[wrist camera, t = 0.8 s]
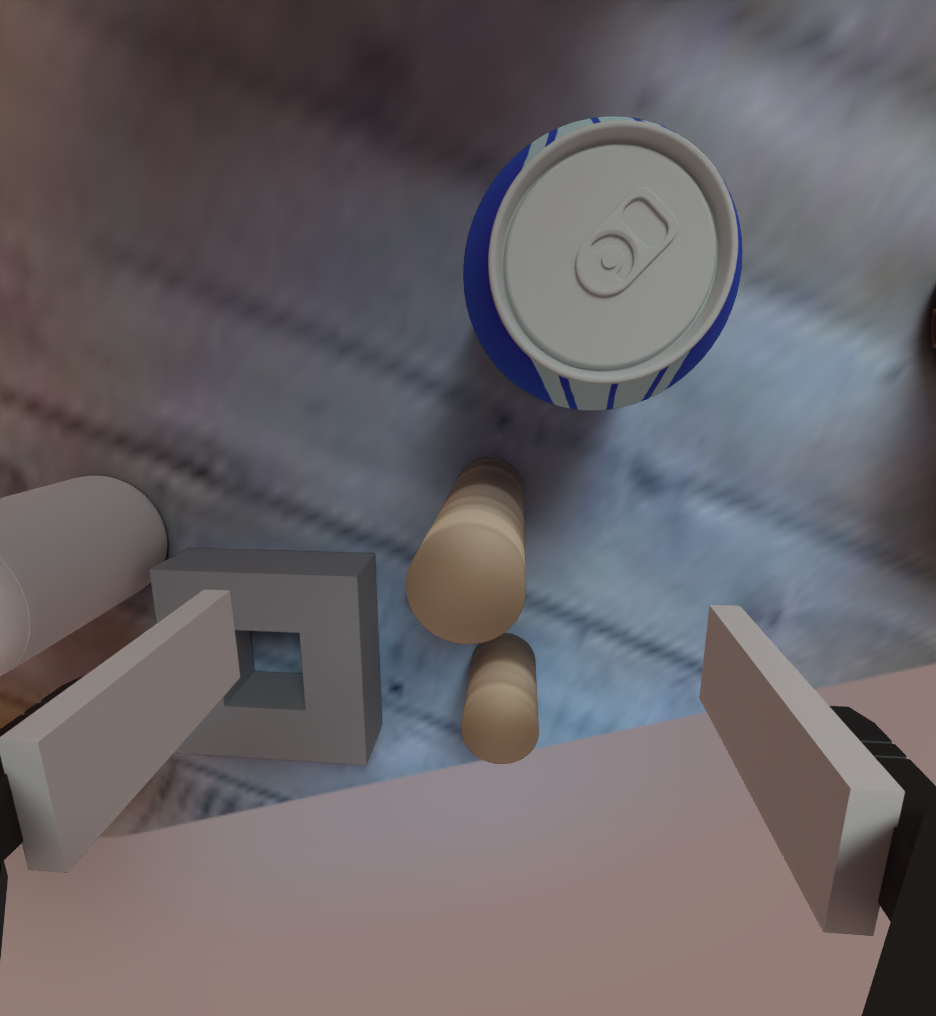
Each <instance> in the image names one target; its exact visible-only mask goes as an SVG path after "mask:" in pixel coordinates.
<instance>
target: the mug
mask: <svg viewBox="0 0 936 1016" xmlns="http://www.w3.org/2000/svg"><path fill="white" fill-rule="evenodd" d="M931 333H932V344H933V348H934V349H935V350H936V306H935V307H934V309H933V315H932V325H931Z"/></svg>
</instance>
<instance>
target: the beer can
mask: <svg viewBox="0 0 936 1016" xmlns="http://www.w3.org/2000/svg"><path fill="white" fill-rule="evenodd" d="M741 268H742V237H741V230H740V224H739V219H738V215H737V211H736V208H735V205H734V202H733V200H732V197H731V194H730V192H729V190H728V188H727V186H726V184H725V182H724V180H723V179H722V177H721V176H720V174H719V173H718V171H717V169H716V168H715V167H714V166H713V164H712V163H711V162H710V161H709V159H708V158H707V157H706V156H705V155H704V154H703V153H702V152H701V151H700V150H699V149H698V148H697V147H696V146H694V145H693V144H692V143H691V142H689V141H688V140H687V139H685V138H683V137H682V136H680V135H679V134H677V133H675V132H674V131H672V130H669V129H667V128H665V127H663V126H661V125H658V124H655V123H652V122H649V121H645V120H641V119H636V118H629V117H597V118H589V119H585V120H581V121H576V122H573V123H570V124H567V125H564V126H561V127H559V128H557V129H555V130H553V131H551V132H548V133H547V134H545V135H543V136H542V137H540V138H538V139H536V140H535V141H533V142H532V143H531V144H529V145H528V146H527V147H525V148H524V149H523V150H522V151H520V152H519V153H518V154H517V155H516V156H515V157H514V158H512V159H511V161H510V162H509V163H508V164H507V165H506V166H505V167H504V168H503V169H502V170H501V172H500V173H499V174H498V175H497V177H496V178H495V179H494V181H493V182H492V184H491V185H490V187H489V188H488V190H487V191H486V193H485V195H484V197H483V199H482V201H481V203H480V204H479V206H478V209H477V211H476V214H475V216H474V219H473V221H472V224H471V228H470V231H469V234H468V239H467V244H466V249H465V257H464V274H463V279H464V293H465V299H466V305H467V309H468V313H469V317H470V320H471V323H472V326H473V328H474V331H475V333H476V335H477V337H478V339H479V342H480V343H481V345H482V347H483V349H484V350H485V352H486V354H487V355H488V356H489V358H490V359H491V360H492V362H493V363H494V364H495V365H496V367H497V368H498V369H499V370H500V371H501V372H502V373H503V374H504V375H505V376H506V377H507V378H508V379H509V380H510V381H512V382H513V383H514V384H515V385H517V386H518V387H520V388H521V389H522V390H524V391H526V392H527V393H529V394H531V395H532V396H534V397H536V398H538V399H541V400H543V401H545V402H548V403H551V404H554V405H557V406H561V407H565V408H570V409H577V410H593V411H595V410H608V409H615V408H620V407H624V406H628V405H632V404H635V403H638V402H641V401H643V400H646V399H648V398H650V397H653V396H655V395H657V394H659V393H660V392H662V391H664V390H666V389H667V388H669V387H671V386H672V385H673V384H675V383H676V382H677V381H679V380H680V379H682V378H683V377H684V376H685V375H686V374H687V373H689V372H690V371H691V370H692V369H693V368H694V367H695V366H696V365H697V364H698V363H699V362H700V361H701V360H702V358H703V357H704V356H705V355H706V353H707V352H708V351H709V350H710V349H711V347H712V346H713V344H714V343H715V341H716V340H717V338H718V337H719V335H720V333H721V331H722V329H723V328H724V326H725V324H726V322H727V319H728V317H729V315H730V313H731V310H732V307H733V304H734V301H735V298H736V295H737V291H738V286H739V282H740V275H741Z"/></svg>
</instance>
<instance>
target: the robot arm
mask: <svg viewBox="0 0 936 1016" xmlns="http://www.w3.org/2000/svg"><path fill="white" fill-rule="evenodd" d="M239 678H240V671H239V663H238V654H237V646H236V637H235V629H234V621H233V612H232V604H231V595H230V590H203V591H201V592H200V593H199V594H197V595H196V596H194V597H193V598H192V599H190V600H189V601H188V602H186V603H185V604H183V605H182V606H181V607H179V608H178V609H176V610H175V611H174V612H172V613H171V614H170V615H168V616H167V617H165V618H164V619H163V620H161V621H160V622H159V623H157V624H156V625H154V626H153V627H152V628H150V629H149V630H147V631H146V632H145V633H143V634H142V635H141V636H139V637H138V638H136V639H135V640H134V641H132V642H131V643H129V644H128V645H127V646H125V647H124V648H123V649H121V650H120V651H118V652H117V653H116V654H114V655H113V656H112V657H110V658H109V659H107V660H106V661H105V662H103V663H102V664H100V665H99V666H98V667H96V668H95V669H94V670H92V671H91V672H89V673H88V674H86V675H84V676H82V677H80V678H77V679H75V680H73V681H71V682H69V683H67V684H64V685H62V686H61V687H59V688H58V689H56V690H55V691H53V692H52V693H51V694H49V695H48V696H46V697H45V698H44V699H42V700H41V703H37V704H35V705H34V706H32V707H31V708H29V709H28V710H27V711H25V714H24V715H20V716H18V717H17V718H15V719H14V720H13V721H11V722H10V723H8V724H7V725H6V726H4V727H3V728H1V729H0V957H1V946H2V936H3V925H4V913H5V902H6V891H7V880H8V875H7V871H6V868H5V864H4V859H6V858H7V857H8V856H9V855H10V854H11V853H12V852H13V851H14V850H15V849H16V848H17V847H18V846H19V845H20V844H21V843H22V845H23V849H24V854H25V858H26V861H27V866H28V870H38V871H51V872H64V873H68V872H69V870H70V869H71V868H72V867H73V866H74V865H75V864H76V863H77V861H78V860H79V859H80V858H81V857H82V856H83V855H84V853H85V852H86V851H87V850H88V849H89V848H90V847H91V846H92V844H93V843H94V842H95V841H96V840H97V839H98V838H99V837H100V835H101V834H102V833H103V832H104V831H105V830H106V829H107V827H108V826H109V825H110V824H111V823H112V822H113V821H114V820H115V818H116V817H117V816H118V815H119V814H120V813H121V812H122V811H123V809H124V808H125V807H126V806H127V805H128V804H129V803H130V802H131V800H132V799H133V798H134V797H135V796H136V795H137V794H138V792H139V791H140V790H141V789H142V788H143V787H144V786H145V785H146V783H147V782H148V781H149V780H150V779H151V778H152V777H153V776H154V774H155V773H156V772H157V771H158V770H159V769H160V768H161V766H162V765H163V764H164V763H165V762H166V761H167V760H168V759H169V757H170V756H171V755H172V754H173V753H174V752H175V751H176V750H177V748H178V747H179V746H180V745H181V744H182V743H183V742H184V740H185V739H186V738H187V737H188V736H189V735H190V734H191V733H192V731H193V730H194V729H195V728H196V727H197V726H198V725H199V724H200V722H201V721H202V720H203V719H204V718H205V717H206V716H207V715H208V713H209V712H210V711H211V710H212V709H213V708H214V707H215V705H216V704H217V703H218V702H219V701H220V700H221V699H222V698H223V696H224V695H225V694H226V693H227V692H228V691H229V690H230V689H231V687H232V686H233V685H234V684H235V683H236V682H237V681H238V679H239ZM700 700H701V702H702V704H703V706H704V707H705V709H706V711H707V713H708V715H709V717H710V719H711V720H712V723H713V724H714V726H715V728H716V730H717V732H718V734H719V736H720V737H721V739H722V741H723V743H724V745H725V747H726V749H727V751H728V753H729V755H730V757H731V758H732V760H733V762H734V764H735V766H736V768H737V770H738V772H739V774H740V775H741V777H742V779H743V781H744V783H745V785H746V787H747V789H748V791H749V792H750V794H751V796H752V798H753V800H754V802H755V804H756V806H757V808H758V810H759V811H760V813H761V815H762V817H763V819H764V821H765V823H766V825H767V827H768V828H769V830H770V832H771V834H772V836H773V838H774V840H775V842H776V844H777V846H778V848H779V849H780V851H781V853H782V855H783V856H784V859H785V861H786V863H787V864H788V866H789V868H790V870H791V872H792V874H793V876H794V878H795V880H796V882H797V883H798V885H799V887H800V889H801V891H802V893H803V895H804V897H805V899H806V901H807V902H808V904H809V906H810V908H811V910H812V912H813V914H814V916H815V918H816V919H817V921H818V923H819V925H820V927H821V929H822V931H823V932H828V933H841V934H854V935H866V936H873V935H874V930H875V926H876V920H877V917H878V912H879V908H880V906H881V908H882V909H883V911H884V912H885V913H886V915H887V917H888V918H889V920H890V921H891V923H890V926H889V929H888V933H887V936H886V939H885V942H884V946H883V949H882V952H881V955H880V959H879V962H878V965H877V968H876V971H875V975H874V978H873V981H872V985H871V988H870V991H869V995H868V997H867V1001H866V1004H865V1007H864V1010H863V1013H862V1016H936V786H935V785H934V784H933V783H932V782H931V781H930V780H929V779H928V778H927V777H926V776H925V775H924V773H923V772H922V771H921V770H920V769H919V768H917V766H915V764H914V763H913V762H912V761H911V760H909V759H906V755H905V754H904V753H903V752H902V751H901V750H900V749H899V748H898V747H897V746H896V745H895V744H892V742H891V740H890V739H889V738H888V737H887V735H885V733H884V732H883V731H882V730H881V729H880V728H879V727H878V726H877V725H876V724H875V723H874V722H872V721H870V720H869V719H867V718H866V717H864V716H862V715H861V714H859V713H858V712H856V711H854V710H853V709H851V708H849V707H841V706H840V707H838V706H828V704H827V703H826V702H825V701H824V700H823V699H822V698H821V697H820V695H819V694H818V693H817V692H816V691H815V690H814V689H813V688H812V686H811V685H810V684H809V683H808V682H807V681H806V680H805V679H804V677H803V676H802V675H801V674H800V673H799V672H798V671H797V670H796V668H795V667H794V666H793V665H792V664H791V663H790V662H789V661H788V659H787V658H786V657H785V656H784V655H783V654H782V653H781V652H780V650H779V649H778V648H777V647H776V646H775V645H774V644H773V643H772V641H771V640H770V639H769V638H768V637H767V636H766V635H765V634H764V632H763V631H762V630H761V629H760V628H759V627H758V626H757V625H756V623H755V622H754V621H753V620H752V619H751V618H750V617H749V616H748V615H747V613H746V612H745V611H744V610H743V609H742V608H741V607H740V606H725V605H710V606H709V615H708V624H707V634H706V643H705V652H704V661H703V670H702V680H701V689H700Z"/></svg>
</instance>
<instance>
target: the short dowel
mask: <svg viewBox="0 0 936 1016" xmlns="http://www.w3.org/2000/svg"><path fill="white" fill-rule="evenodd" d="M461 734H462V738H463V740H464V742H465V744H466V746H467V747H468V749H469V750H470V751H471V752H472V753H473V754H474V755H476V756H477V757H479V758H480V759H482V760H484V761H487V762H491V763H495V764H508V763H513V762H516V761H519V760H521V759H523V758H524V757H525V756H527V755H528V754H529V753H530V752H531V751H532V750H533V749H534V747H535V745H536V743H537V740H538V736H539V725H538V705H537V684H536V664H535V656H534V653H533V650H532V648H531V647H530V646H529V644H528V643H527V642H526V641H524V640H523V639H522V638H520V637H518V636H516V635H513V634H509V633H503V634H502V635H500V636H498V637H496V638H495V639H492V640H490V641H487V642H483V643H479V644H478V645H477V646H476V648H475V650H474V652H473V656H472V662H471V668H470V674H469V680H468V687H467V693H466V699H465V705H464V711H463V717H462V723H461Z"/></svg>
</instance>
